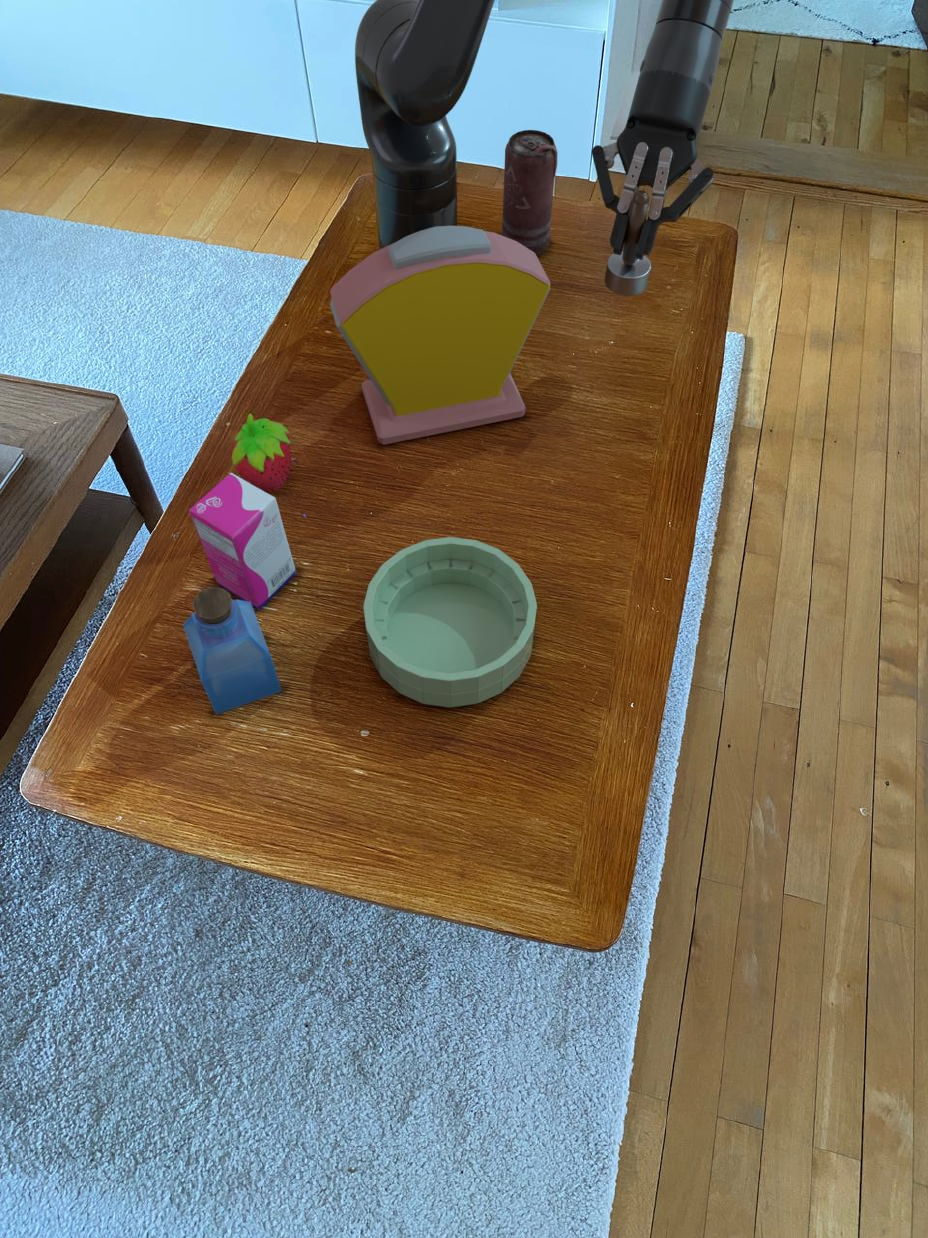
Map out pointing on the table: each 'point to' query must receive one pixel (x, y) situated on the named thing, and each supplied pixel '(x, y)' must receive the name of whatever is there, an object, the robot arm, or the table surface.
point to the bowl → (450, 621)
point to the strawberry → (262, 453)
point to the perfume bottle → (229, 650)
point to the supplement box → (244, 540)
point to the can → (529, 189)
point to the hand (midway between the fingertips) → (627, 254)
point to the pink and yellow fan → (440, 328)
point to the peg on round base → (630, 254)
